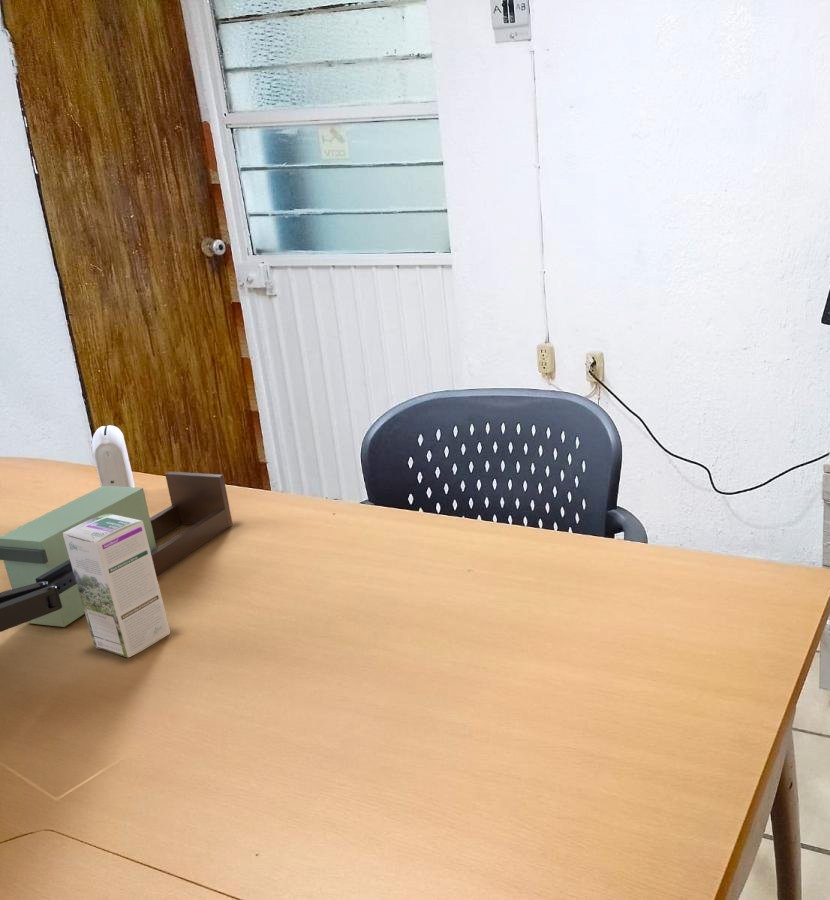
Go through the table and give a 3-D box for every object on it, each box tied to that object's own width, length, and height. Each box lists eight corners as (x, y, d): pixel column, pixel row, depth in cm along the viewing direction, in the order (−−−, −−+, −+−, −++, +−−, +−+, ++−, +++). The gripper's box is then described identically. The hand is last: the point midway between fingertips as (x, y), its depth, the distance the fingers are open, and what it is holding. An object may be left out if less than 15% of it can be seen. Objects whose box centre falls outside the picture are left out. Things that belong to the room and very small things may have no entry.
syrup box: (173, 633, 95) (146, 517, 90) (126, 660, 90) (96, 540, 85) (138, 623, 97) (110, 510, 92) (91, 649, 92) (59, 531, 87)
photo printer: (137, 510, 129) (120, 435, 125) (105, 516, 127) (87, 439, 123) (137, 488, 138) (121, 417, 134) (108, 493, 136) (90, 422, 132)
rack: (93, 573, 109) (78, 518, 107) (180, 520, 125) (169, 471, 122) (152, 579, 107) (139, 523, 105) (232, 524, 123) (223, 474, 120)
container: (17, 624, 97) (-8, 539, 93) (121, 560, 112) (103, 485, 108) (62, 629, 96) (38, 543, 92) (161, 563, 111) (143, 487, 107)
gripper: (-243, 682, 80) (-41, 578, 100) (-30, 711, 75) (138, 595, 95) (-272, 615, 78) (-60, 521, 97) (-54, 639, 73) (124, 535, 92)
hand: (38, 557), depth 96 cm, fingers open, 13 cm apart
